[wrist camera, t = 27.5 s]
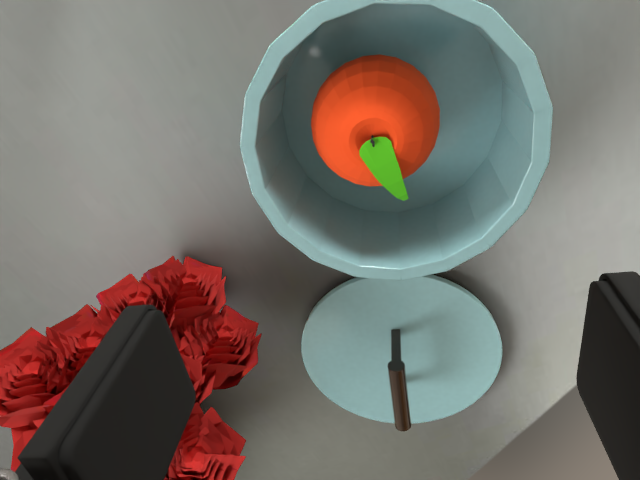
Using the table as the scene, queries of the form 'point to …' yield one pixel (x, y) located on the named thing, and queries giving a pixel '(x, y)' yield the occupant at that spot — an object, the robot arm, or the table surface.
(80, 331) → the bouquet
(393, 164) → the clementine
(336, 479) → the table surface
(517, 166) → the pot
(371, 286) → the lid
